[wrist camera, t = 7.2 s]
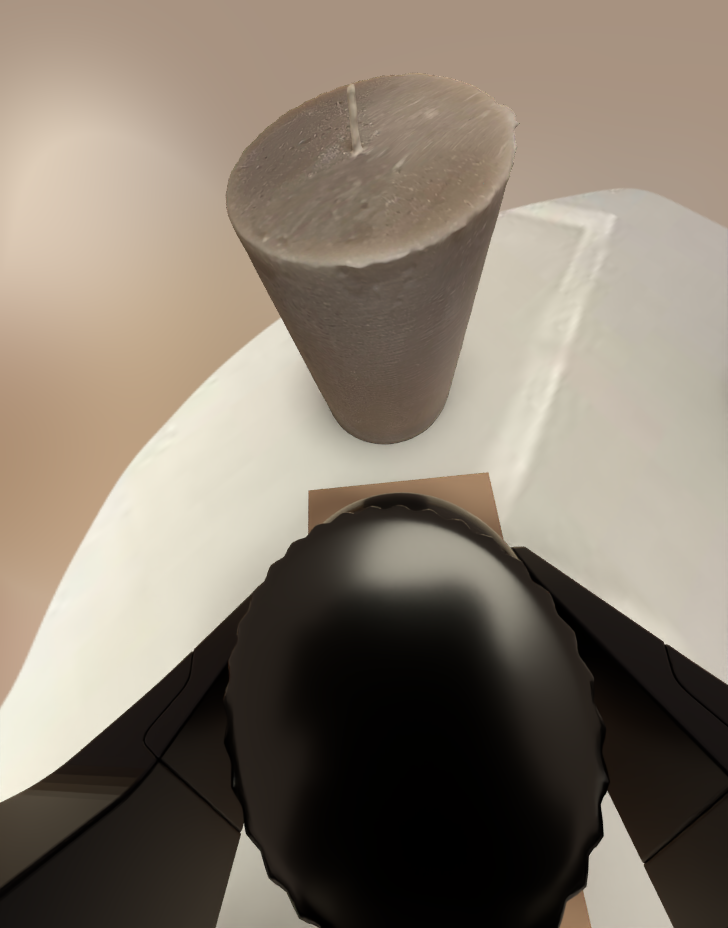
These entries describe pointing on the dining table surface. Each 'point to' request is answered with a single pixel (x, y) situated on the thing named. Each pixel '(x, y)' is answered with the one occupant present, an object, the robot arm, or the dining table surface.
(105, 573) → the dining table surface
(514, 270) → the dining table surface
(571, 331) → the dining table surface
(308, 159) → the pillar candle
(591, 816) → the supplement bottle
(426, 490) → the board
